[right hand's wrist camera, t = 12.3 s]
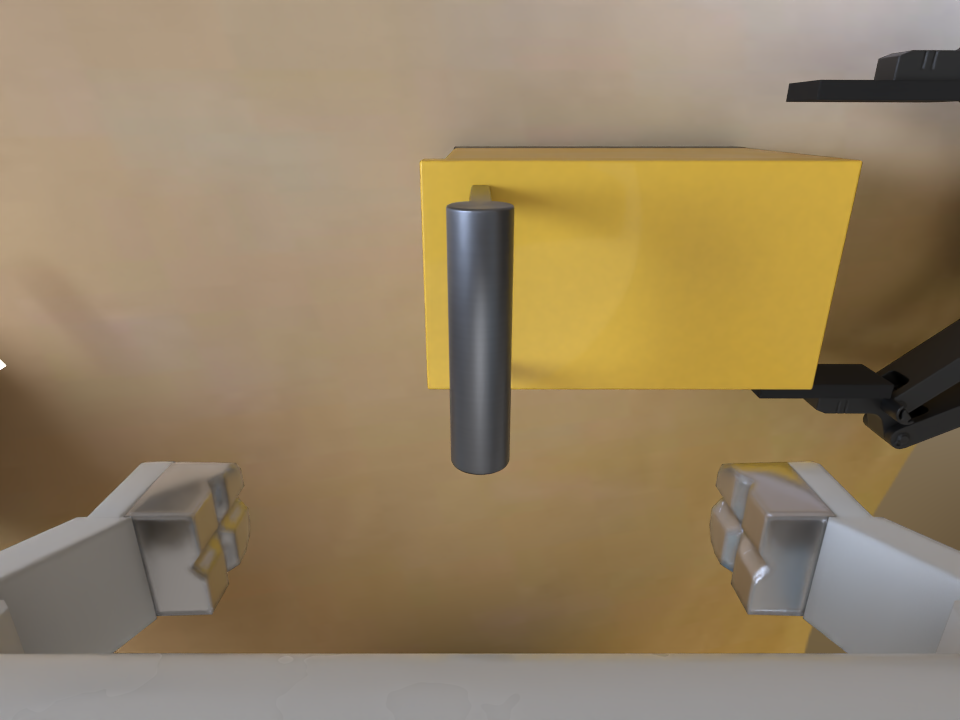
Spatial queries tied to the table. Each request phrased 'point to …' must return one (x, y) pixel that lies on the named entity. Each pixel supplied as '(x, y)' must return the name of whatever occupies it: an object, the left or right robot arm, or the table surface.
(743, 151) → the chest
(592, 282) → the lid
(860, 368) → the left robot arm
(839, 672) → the right robot arm
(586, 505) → the table surface
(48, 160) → the table surface
